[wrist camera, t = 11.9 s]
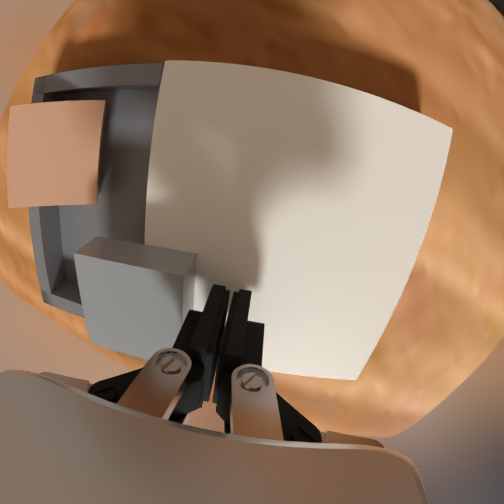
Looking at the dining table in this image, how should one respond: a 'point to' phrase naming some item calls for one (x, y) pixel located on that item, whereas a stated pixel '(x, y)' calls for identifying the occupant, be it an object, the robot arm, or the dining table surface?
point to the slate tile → (134, 294)
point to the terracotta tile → (55, 153)
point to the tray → (111, 173)
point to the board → (294, 203)
